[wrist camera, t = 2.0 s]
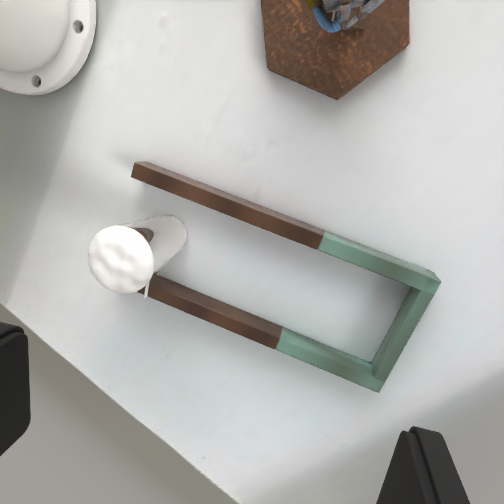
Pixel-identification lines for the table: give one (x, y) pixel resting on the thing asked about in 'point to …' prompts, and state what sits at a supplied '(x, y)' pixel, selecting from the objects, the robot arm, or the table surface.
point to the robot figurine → (333, 40)
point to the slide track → (313, 237)
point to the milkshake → (135, 252)
